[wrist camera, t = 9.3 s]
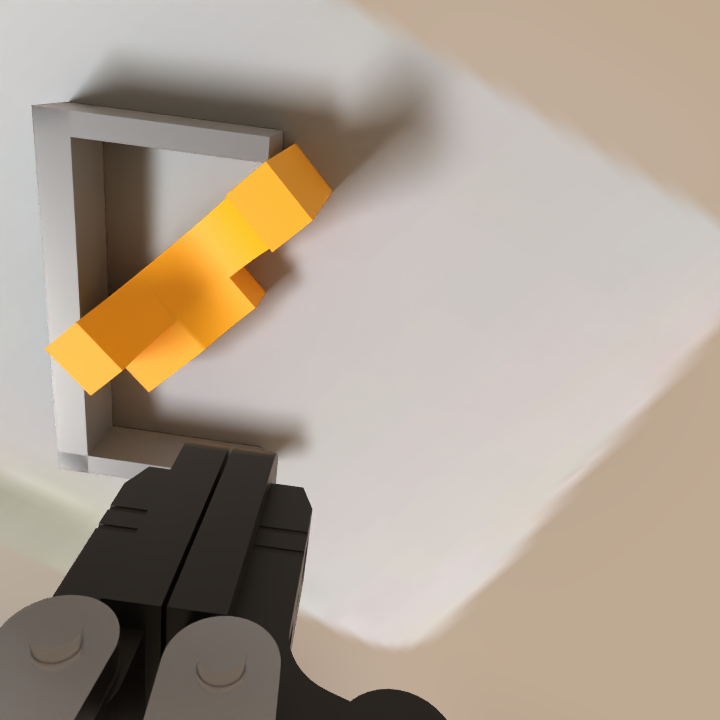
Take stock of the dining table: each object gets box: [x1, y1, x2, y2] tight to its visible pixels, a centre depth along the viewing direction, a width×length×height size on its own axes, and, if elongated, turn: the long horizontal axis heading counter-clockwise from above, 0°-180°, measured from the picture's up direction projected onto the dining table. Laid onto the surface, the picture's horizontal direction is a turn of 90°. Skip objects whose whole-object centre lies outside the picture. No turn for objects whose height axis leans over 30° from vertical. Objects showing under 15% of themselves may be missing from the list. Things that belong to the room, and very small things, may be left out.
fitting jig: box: [32, 102, 283, 479], centre depth 31 cm, size 10×17×3 cm, turn 173°
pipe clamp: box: [45, 143, 332, 396], centre depth 29 cm, size 12×4×6 cm, turn 128°
